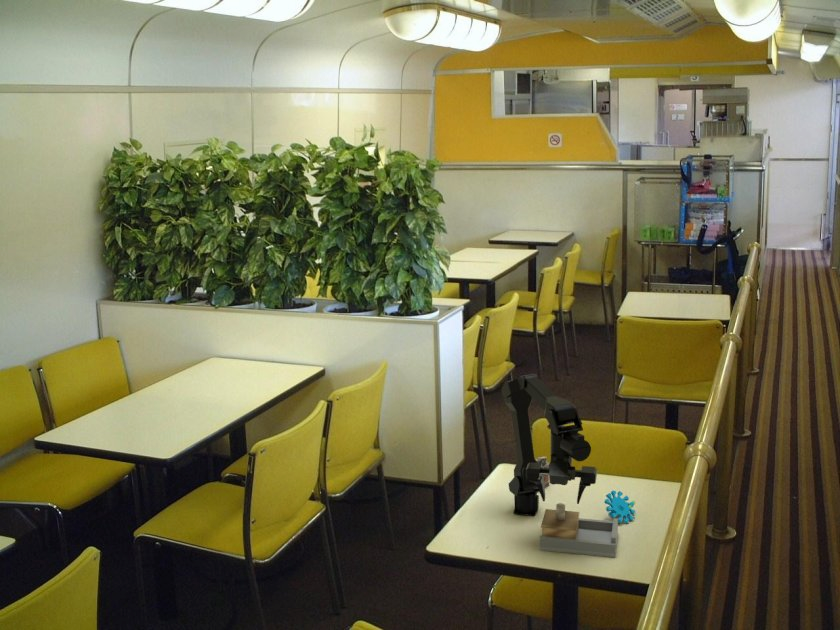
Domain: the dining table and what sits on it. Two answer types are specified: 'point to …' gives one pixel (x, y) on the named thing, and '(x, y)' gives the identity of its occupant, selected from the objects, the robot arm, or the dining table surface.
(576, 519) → the crate
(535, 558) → the dining table surface
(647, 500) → the dining table surface
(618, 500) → the gear
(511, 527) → the dining table surface
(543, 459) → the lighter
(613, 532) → the bay
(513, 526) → the dining table surface
